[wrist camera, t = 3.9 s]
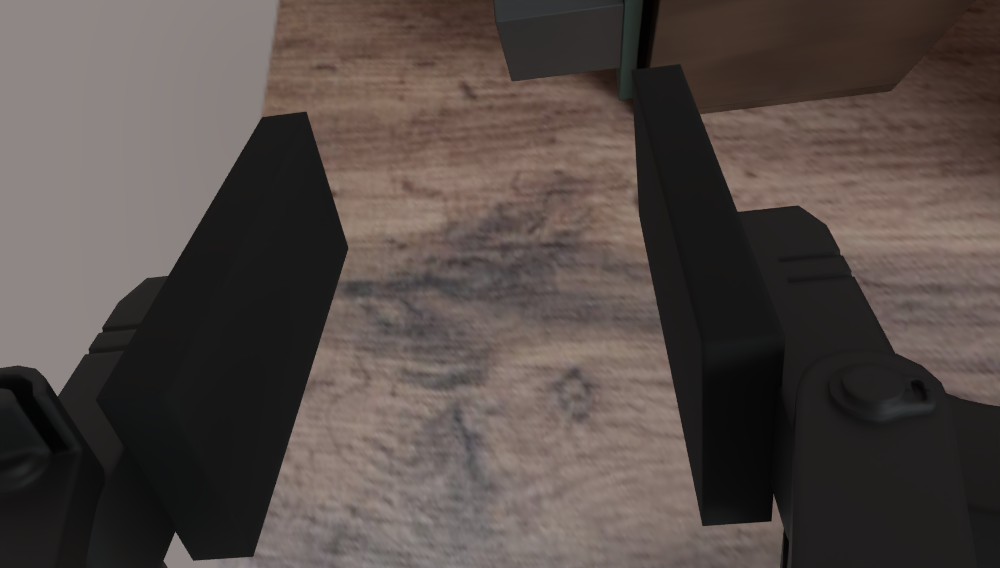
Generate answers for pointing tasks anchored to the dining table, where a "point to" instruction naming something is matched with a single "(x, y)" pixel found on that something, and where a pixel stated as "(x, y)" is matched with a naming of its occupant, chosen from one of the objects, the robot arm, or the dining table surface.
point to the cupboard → (790, 46)
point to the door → (570, 38)
